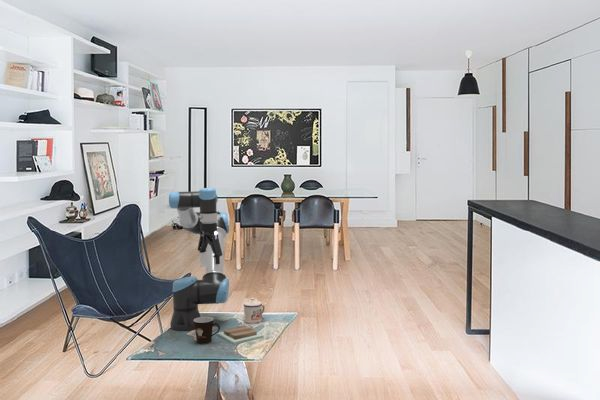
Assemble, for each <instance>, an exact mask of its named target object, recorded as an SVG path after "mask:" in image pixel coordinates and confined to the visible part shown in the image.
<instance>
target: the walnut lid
mask: <svg viewBox="0 0 600 400" xmlns="http://www.w3.org/2000/svg"><path fill="white" fill-rule="evenodd" d="M223 332H224V334H225V335H227V336H229V337H231V338H233V339H235V340H237V339H241V338H245V337H250V336H254V335H257V332H258V331H257V330H255V329H253V328H251V327H248V326H246V325H241V326H237V327H232V328H228V329H224V330H223Z"/></svg>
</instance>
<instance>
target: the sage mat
mask: <svg viewBox="0 0 600 400" xmlns="http://www.w3.org/2000/svg"><path fill="white" fill-rule="evenodd" d="M216 335H217V336H218V337H220V338H221V339H224V340H225V341H227V342H229V343H230V344H233V345H238V344H241V343H247V342H250V341H253V340H258V339H259V340H260V339H263V338H264V337H265V336H264V334H262V333H260V332H258V331H257V335H254V336H250V337H245V338H241V339H237V340H235V339H233V338H231V337H229V336H227V335H225V334H224V331H220V332H218V333H216Z"/></svg>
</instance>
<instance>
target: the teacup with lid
mask: <svg viewBox="0 0 600 400" xmlns="http://www.w3.org/2000/svg"><path fill="white" fill-rule="evenodd" d="M265 307H266V306H265V305H264V304H263V303H262V302H261V301H260V300H257V299H256V298H255V297H250V299H249V300H246V301H245V302H244V303H243V315H244V317H243V318H244V322H245V323H247V324H258V323H257V322H259V323H261V322H262V321H263V314H264V313H265V309H266V308H265Z"/></svg>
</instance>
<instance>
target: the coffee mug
mask: <svg viewBox="0 0 600 400" xmlns="http://www.w3.org/2000/svg"><path fill="white" fill-rule="evenodd" d="M194 326H195V329H194V330H195V331H194V333H195V338H196V343H197V344H199V345H208V344H210V343H212V340H213V339H212V338H213V336H215V335H217V333H220V332H219V331H220V330H221V327H220V325H219V324H218V323H214V318H213V317H211V316H201V317H199V318H196V319H194ZM214 326H217V328H218V330H216V332H214V333H213V330H214V329H213V327H214Z"/></svg>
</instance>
